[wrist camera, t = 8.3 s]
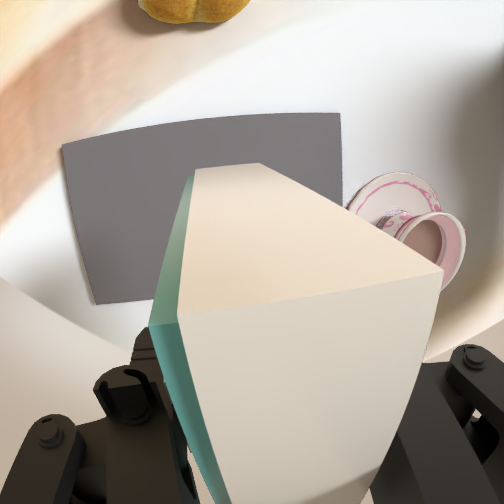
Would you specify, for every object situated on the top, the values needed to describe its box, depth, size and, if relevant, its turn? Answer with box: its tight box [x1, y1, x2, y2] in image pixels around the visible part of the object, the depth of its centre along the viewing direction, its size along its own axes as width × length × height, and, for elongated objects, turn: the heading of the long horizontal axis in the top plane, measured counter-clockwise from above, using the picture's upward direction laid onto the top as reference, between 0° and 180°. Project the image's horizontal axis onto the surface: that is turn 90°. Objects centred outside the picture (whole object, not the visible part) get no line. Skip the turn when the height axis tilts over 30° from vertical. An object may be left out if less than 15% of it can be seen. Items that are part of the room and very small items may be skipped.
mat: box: [62, 113, 342, 305], centre depth 24 cm, size 14×22×1 cm, turn 95°
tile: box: [148, 163, 444, 504], centre depth 9 cm, size 9×3×10 cm, turn 5°
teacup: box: [348, 172, 466, 292], centre depth 25 cm, size 12×12×6 cm
